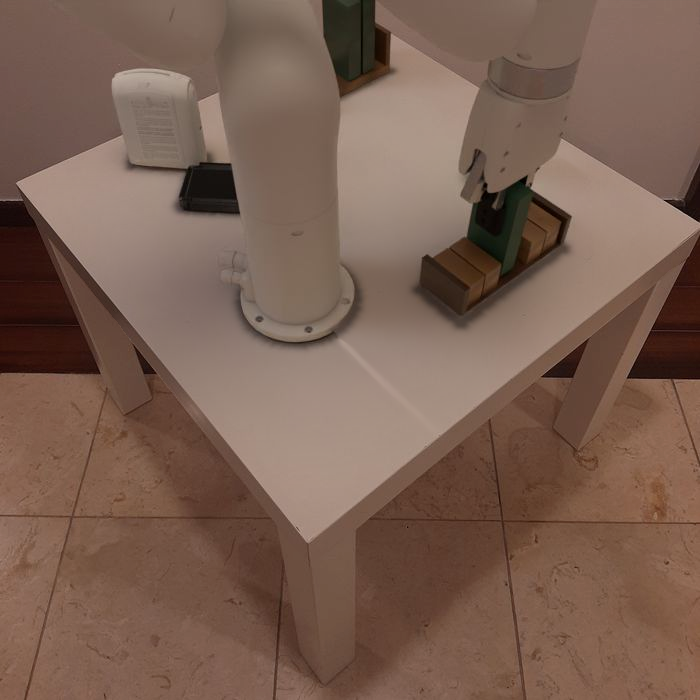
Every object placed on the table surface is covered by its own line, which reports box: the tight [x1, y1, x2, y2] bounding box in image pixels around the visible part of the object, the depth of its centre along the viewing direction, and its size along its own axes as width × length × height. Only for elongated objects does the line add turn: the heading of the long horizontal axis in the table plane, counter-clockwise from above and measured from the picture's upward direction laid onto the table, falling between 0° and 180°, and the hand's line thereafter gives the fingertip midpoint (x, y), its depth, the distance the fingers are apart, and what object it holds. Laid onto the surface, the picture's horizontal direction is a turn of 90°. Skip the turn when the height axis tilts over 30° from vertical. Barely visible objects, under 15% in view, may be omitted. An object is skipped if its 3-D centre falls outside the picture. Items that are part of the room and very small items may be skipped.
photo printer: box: [111, 68, 208, 169], centre depth 92 cm, size 10×4×12 cm, turn 84°
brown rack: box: [419, 190, 573, 317], centre depth 83 cm, size 17×6×5 cm, turn 130°
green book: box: [465, 181, 534, 276], centre depth 79 cm, size 2×6×11 cm, turn 40°
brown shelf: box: [321, 0, 392, 98], centre depth 102 cm, size 17×6×12 cm, turn 130°
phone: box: [178, 161, 240, 213], centre depth 92 cm, size 8×1×15 cm
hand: (496, 221), depth 79 cm, fingers closed on green book, 2 cm apart
